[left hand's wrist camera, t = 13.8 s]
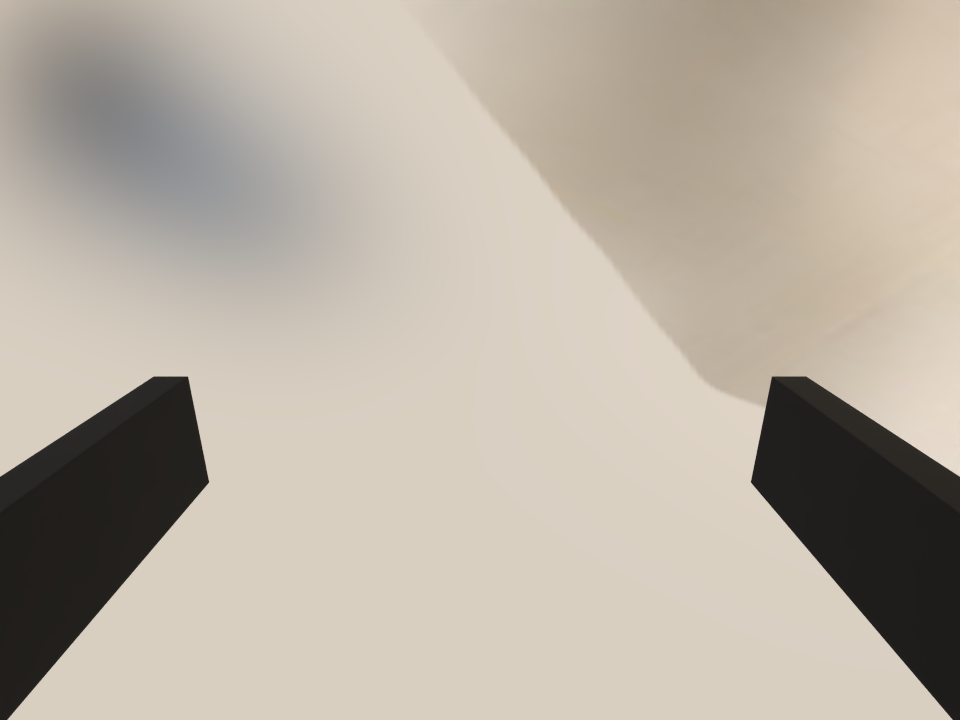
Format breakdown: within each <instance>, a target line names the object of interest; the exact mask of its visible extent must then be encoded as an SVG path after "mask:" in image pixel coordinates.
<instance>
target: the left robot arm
mask: <svg viewBox="0 0 960 720" xmlns="http://www.w3.org/2000/svg"><path fill="white" fill-rule="evenodd" d="M208 483H209V480H208V475H207V470H206V465H205V460H204V455H203V450H202V445H201V440H200V435H199V430H198V425H197V420H196V415H195V410H194V405H193V400H192V395H191V390H190V385H189V380H188V377H152V378H151V379H149V380H148V381H146V382H145V383H143V384H142V385H140V386H139V387H137V388H136V389H134V390H133V391H131V392H130V393H128V394H126V395H125V396H123V397H122V398H120V399H119V400H117V401H116V402H114V403H113V404H111V405H110V406H108V407H107V408H105V409H103V410H102V411H100V412H99V413H97V414H96V415H94V416H93V417H91V418H90V419H88V420H87V421H85V422H84V423H82V424H80V425H79V426H77V427H76V428H74V429H73V430H71V431H70V432H68V433H67V434H65V435H64V436H62V437H61V438H59V439H57V440H56V441H54V442H53V443H51V444H50V445H48V446H47V447H45V448H44V449H42V450H41V451H39V452H38V453H36V454H34V455H33V456H31V457H30V458H28V459H27V460H25V461H24V462H22V463H21V464H19V465H18V466H16V467H15V468H13V469H12V470H10V471H8V472H7V473H5V474H4V475H2V476H1V477H0V720H7V719H8V718H9V717H10V716H11V715H12V713H13V712H14V711H15V710H16V709H17V708H18V706H19V705H20V704H21V703H22V702H23V701H24V699H25V698H26V697H27V696H28V695H29V693H30V692H31V691H32V690H33V689H34V688H35V686H36V685H37V684H38V683H39V682H40V681H41V679H42V678H43V677H44V676H45V675H46V674H47V672H48V671H49V670H50V669H51V668H52V666H53V665H54V664H55V663H56V662H57V661H58V659H59V658H60V657H61V656H62V655H63V654H64V652H65V651H66V650H67V649H68V648H69V646H70V645H71V644H72V643H73V642H74V641H75V639H76V638H77V637H78V636H79V635H80V633H81V632H82V631H83V630H84V629H85V628H86V626H87V625H88V624H89V623H90V622H91V621H92V619H93V618H94V617H95V616H96V615H97V614H98V612H99V611H100V610H101V609H102V608H103V606H104V605H105V604H106V603H107V602H108V601H109V599H110V598H111V597H112V596H113V595H114V593H115V592H116V591H117V590H118V589H119V588H120V586H121V585H122V584H123V583H124V582H125V581H126V579H127V578H128V577H129V576H130V575H131V574H132V572H133V571H134V570H135V569H136V568H137V567H138V565H139V564H140V563H141V562H142V561H143V559H144V558H145V557H146V556H147V555H148V554H149V552H150V551H151V550H152V549H153V548H154V546H155V545H156V544H157V543H158V542H159V541H160V539H161V538H162V537H163V536H164V535H165V534H166V532H167V531H168V530H169V529H170V528H171V526H172V525H173V524H174V523H175V522H176V521H177V519H178V518H179V517H180V516H181V515H182V514H183V512H184V511H185V510H186V509H187V508H188V507H189V505H190V504H191V503H192V502H193V501H194V499H195V498H196V497H197V496H198V495H199V494H200V492H201V491H202V490H203V489H204V488H205V487H206V485H207V484H208ZM751 483H752V484H753V485H754V487H755V488H756V489H757V490H758V491H759V492H760V494H761V495H762V496H763V497H764V498H765V499H766V501H767V502H768V503H769V504H770V505H771V507H772V508H773V509H774V510H775V511H776V512H777V514H778V515H779V516H780V517H781V518H782V519H783V521H784V522H785V523H786V524H787V525H788V527H789V528H790V529H791V530H792V531H793V532H794V534H795V535H796V536H797V537H798V538H799V539H800V541H801V542H802V543H803V544H804V545H805V547H806V548H807V549H808V550H809V551H810V552H811V554H812V555H813V556H814V557H815V558H816V559H817V561H818V562H819V563H820V564H821V565H822V566H823V568H824V569H825V570H826V571H827V572H828V574H829V575H830V576H831V577H832V578H833V579H834V581H835V582H836V583H837V584H838V585H839V587H840V588H841V589H842V590H843V591H844V592H845V594H846V595H847V596H848V597H849V598H850V599H851V601H852V602H853V603H854V604H855V605H856V606H857V608H858V609H859V610H860V611H861V612H862V614H863V615H864V616H865V617H866V618H867V619H868V621H869V622H870V623H871V624H872V625H873V626H874V628H875V629H876V630H877V631H878V632H879V633H880V635H881V636H882V637H883V638H884V639H885V641H886V642H887V643H888V644H889V645H890V646H891V648H892V649H893V650H894V651H895V652H896V654H897V655H898V656H899V657H900V658H901V659H902V661H903V662H904V663H905V664H906V665H907V666H908V668H909V669H910V670H911V671H912V672H913V674H914V675H915V676H916V677H917V678H918V679H919V681H920V682H921V683H922V684H923V685H924V686H925V688H926V689H927V690H928V691H929V692H930V693H931V695H932V696H933V697H934V698H935V699H936V701H937V702H938V703H939V704H940V705H941V706H942V708H943V709H944V710H945V711H946V712H947V713H948V715H949V716H950V717H951V718H952V719H953V720H960V477H959V476H958V475H956V474H955V473H953V472H952V471H950V470H948V469H947V468H945V467H944V466H942V465H941V464H939V463H938V462H936V461H935V460H933V459H932V458H930V457H929V456H927V455H926V454H924V453H922V452H921V451H919V450H918V449H916V448H915V447H913V446H912V445H910V444H909V443H907V442H906V441H904V440H903V439H901V438H899V437H898V436H896V435H895V434H893V433H892V432H890V431H889V430H887V429H886V428H884V427H883V426H881V425H880V424H878V423H876V422H875V421H873V420H872V419H870V418H869V417H867V416H866V415H864V414H863V413H861V412H860V411H858V410H857V409H855V408H853V407H852V406H850V405H849V404H847V403H846V402H844V401H843V400H841V399H840V398H838V397H837V396H835V395H834V394H832V393H830V392H829V391H827V390H826V389H824V388H823V387H821V386H820V385H818V384H817V383H815V382H814V381H812V380H811V379H809V378H808V377H772V380H771V385H770V390H769V395H768V400H767V405H766V410H765V415H764V420H763V425H762V430H761V435H760V440H759V445H758V450H757V455H756V460H755V465H754V470H753V475H752V480H751Z"/></svg>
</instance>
